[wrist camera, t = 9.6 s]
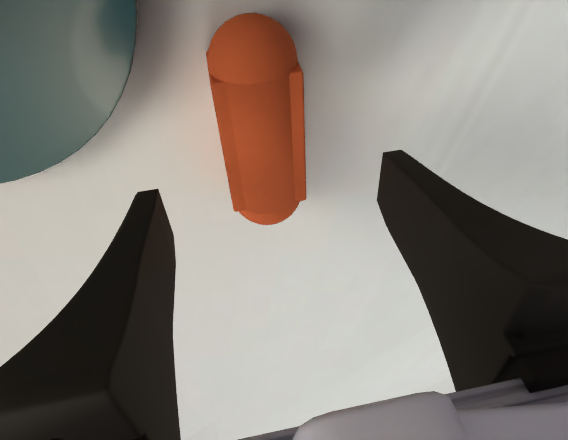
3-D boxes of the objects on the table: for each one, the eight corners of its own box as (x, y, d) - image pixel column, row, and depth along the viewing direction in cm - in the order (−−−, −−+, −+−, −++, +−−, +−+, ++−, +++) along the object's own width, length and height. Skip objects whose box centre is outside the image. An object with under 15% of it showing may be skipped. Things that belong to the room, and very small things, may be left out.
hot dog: (295, 188, 21) (309, 232, 19) (232, 198, 21) (240, 244, 18) (286, -6, 15) (305, 28, 13) (197, 5, 15) (202, 41, 12)
